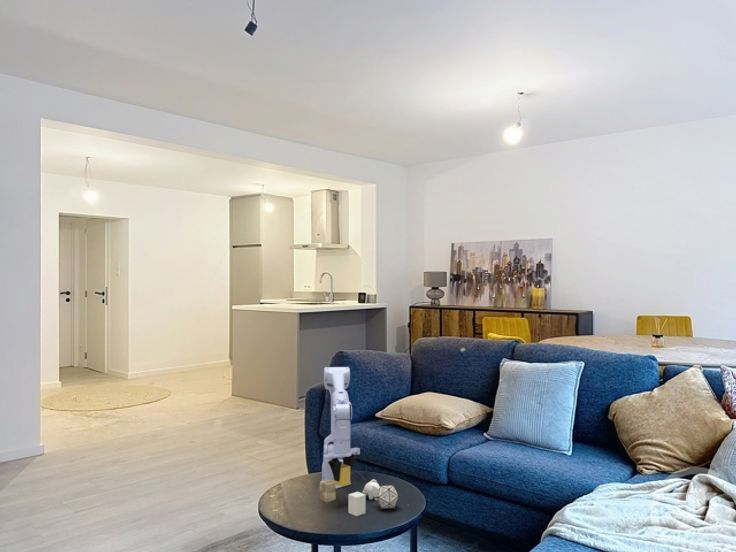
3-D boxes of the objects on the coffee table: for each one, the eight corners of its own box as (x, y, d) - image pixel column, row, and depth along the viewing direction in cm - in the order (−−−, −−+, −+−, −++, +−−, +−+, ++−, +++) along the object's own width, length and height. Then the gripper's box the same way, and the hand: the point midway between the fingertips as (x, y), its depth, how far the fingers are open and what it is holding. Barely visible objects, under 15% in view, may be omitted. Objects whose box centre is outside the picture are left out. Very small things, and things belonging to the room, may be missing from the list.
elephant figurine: (364, 494, 203) (364, 477, 203) (386, 496, 201) (386, 479, 201) (359, 500, 197) (359, 483, 197) (381, 503, 194) (381, 485, 195)
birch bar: (319, 499, 198) (319, 482, 198) (328, 496, 201) (328, 479, 201) (326, 502, 195) (326, 484, 195) (335, 499, 198) (335, 482, 198)
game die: (390, 522, 188) (394, 504, 182) (368, 509, 191) (371, 491, 185) (402, 501, 195) (406, 483, 189) (380, 489, 197) (383, 472, 192)
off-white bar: (348, 512, 186) (348, 494, 186) (357, 509, 189) (357, 491, 189) (356, 516, 183) (356, 497, 183) (365, 513, 186) (365, 494, 186)
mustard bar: (333, 483, 192) (333, 465, 193) (342, 480, 195) (343, 463, 195) (341, 486, 190) (341, 468, 190) (350, 483, 192) (350, 466, 192)
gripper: (332, 445, 185) (332, 486, 185) (365, 437, 195) (365, 477, 194) (319, 440, 190) (319, 481, 190) (352, 433, 200) (352, 472, 200)
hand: (341, 479), depth 192 cm, fingers closed on mustard bar, 4 cm apart
